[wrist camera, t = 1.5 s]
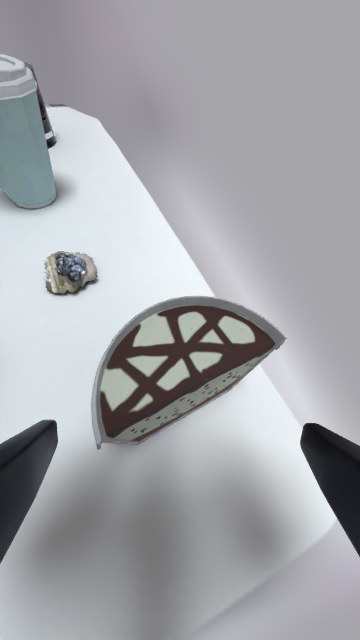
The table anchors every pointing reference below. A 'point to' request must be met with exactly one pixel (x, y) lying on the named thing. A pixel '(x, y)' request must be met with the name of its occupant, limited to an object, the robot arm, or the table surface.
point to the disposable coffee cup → (23, 139)
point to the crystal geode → (68, 271)
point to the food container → (175, 364)
